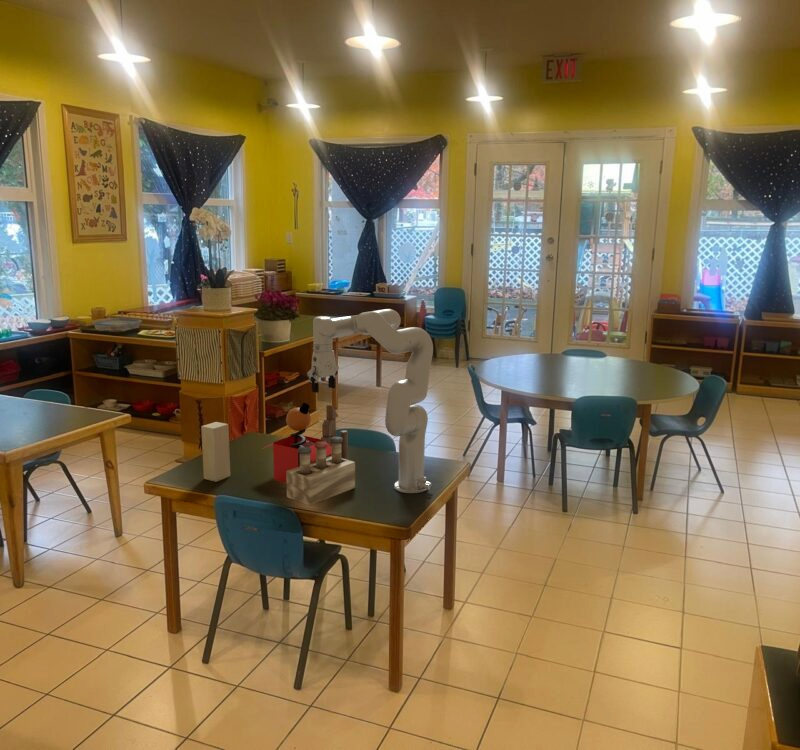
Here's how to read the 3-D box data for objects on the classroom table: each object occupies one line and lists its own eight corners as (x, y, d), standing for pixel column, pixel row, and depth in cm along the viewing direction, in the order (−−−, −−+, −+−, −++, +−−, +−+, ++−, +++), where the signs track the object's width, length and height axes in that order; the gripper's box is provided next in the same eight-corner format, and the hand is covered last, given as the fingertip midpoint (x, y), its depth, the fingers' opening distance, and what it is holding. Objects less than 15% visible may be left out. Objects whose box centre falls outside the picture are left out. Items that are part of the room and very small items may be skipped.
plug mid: (330, 467, 267) (330, 443, 265) (321, 470, 264) (320, 446, 262) (321, 464, 270) (320, 440, 268) (312, 467, 266) (311, 443, 264)
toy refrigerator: (217, 472, 288) (214, 421, 284) (231, 476, 285) (228, 423, 280) (202, 478, 282) (199, 425, 277) (216, 482, 278) (213, 428, 274)
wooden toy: (333, 471, 291) (332, 410, 285) (318, 469, 293) (317, 409, 288) (349, 460, 305) (348, 401, 300) (334, 458, 307) (334, 400, 302)
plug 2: (345, 462, 273) (345, 438, 271) (336, 465, 270) (336, 441, 268) (336, 459, 276) (336, 435, 274) (327, 462, 272) (327, 438, 271)
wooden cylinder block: (355, 487, 274) (354, 462, 272) (310, 505, 256) (309, 478, 254) (331, 480, 281) (331, 455, 279) (286, 497, 264) (286, 470, 262)
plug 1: (314, 473, 261) (314, 448, 259) (305, 476, 258) (304, 451, 256) (305, 470, 264) (305, 445, 262) (295, 473, 260) (295, 448, 258)
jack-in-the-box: (338, 477, 284) (337, 402, 278) (312, 489, 271) (311, 411, 265) (287, 465, 298) (285, 393, 291) (261, 476, 285) (258, 401, 278)
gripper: (314, 351, 282) (315, 395, 285) (344, 346, 295) (344, 387, 299) (300, 349, 286) (301, 392, 289) (330, 344, 299) (331, 384, 303)
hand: (323, 389), depth 294 cm, fingers open, 9 cm apart
